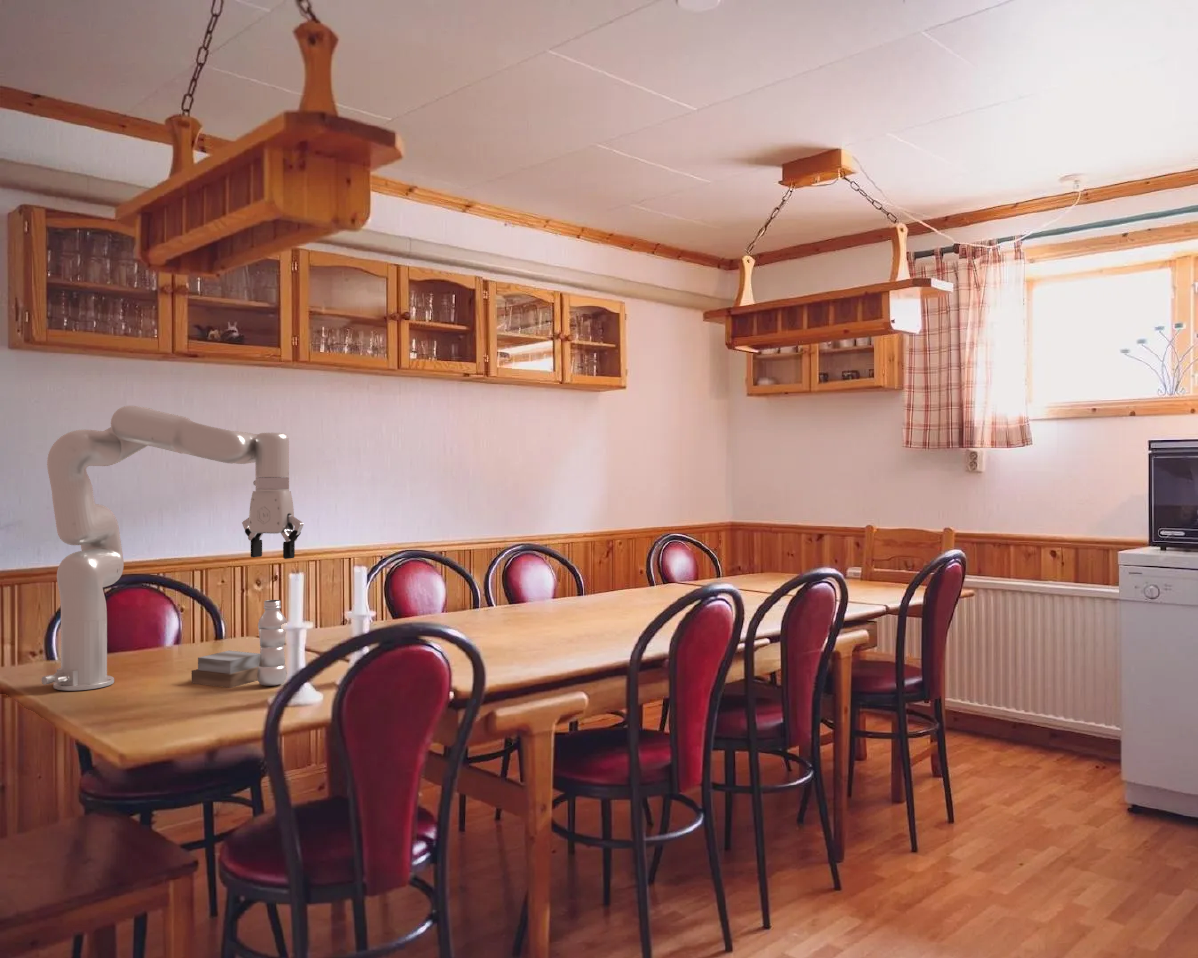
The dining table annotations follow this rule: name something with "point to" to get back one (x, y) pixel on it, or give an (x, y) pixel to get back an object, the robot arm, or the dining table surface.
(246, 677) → the plinth
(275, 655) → the plastic bottle
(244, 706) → the dining table surface
